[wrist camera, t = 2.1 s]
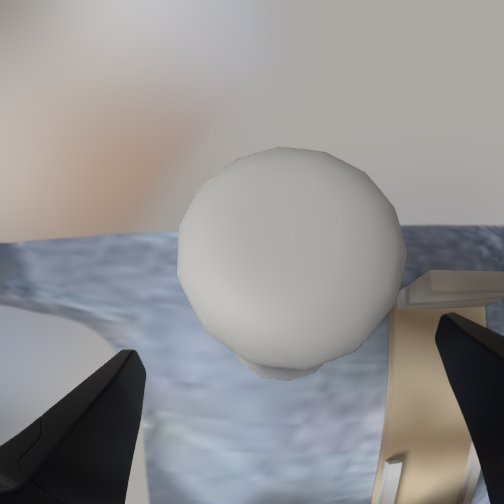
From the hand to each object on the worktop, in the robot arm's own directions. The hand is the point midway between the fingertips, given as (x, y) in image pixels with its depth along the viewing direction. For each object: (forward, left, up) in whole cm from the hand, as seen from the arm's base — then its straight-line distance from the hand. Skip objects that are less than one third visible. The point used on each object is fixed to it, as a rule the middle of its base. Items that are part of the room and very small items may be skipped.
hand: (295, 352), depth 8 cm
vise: (-6, -10, -9) cm, 15 cm away
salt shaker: (+2, 0, -9) cm, 9 cm away
